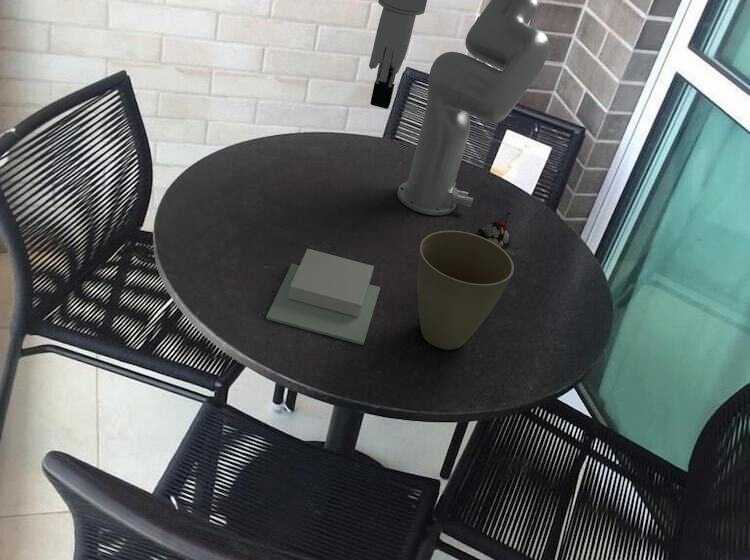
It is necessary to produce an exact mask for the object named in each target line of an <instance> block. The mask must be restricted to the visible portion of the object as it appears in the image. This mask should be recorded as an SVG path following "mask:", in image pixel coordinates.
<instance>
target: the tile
mask: <svg viewBox="0 0 750 560" xmlns="http://www.w3.org/2000/svg"><path fill="white" fill-rule="evenodd" d="M374 268H375V265H372V264H367V263H363V262H359V261H356V260H353V259H349V258H344V257H342V256H338V255H334V254H330V253H326V252H322V251H319V250H314V249H312V248H311V249H310V248H307V249H306V251H305V253H304V254H303V258H302V259H301V262H300V265H299V268H298V270H297V272H296V275H295V277H294V279H293V281H292V283H291V285H290V290H289V295H288V298H289V299H293V300H296V301H300V302H304V303H307V304H311V305H315V306H319V307H322V308H326V309H330V310H333V311H337V312H341V313H345V314H348V315H352V316H356V317H359V315H360V312H361V309H362V305H363V302H364V299H365V296H366V293H367V290H368V287H369V284H370V283H371V280H372V276H373V272H374ZM370 285H371V284H370Z"/></svg>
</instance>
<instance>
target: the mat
mask: <svg viewBox="0 0 750 560" xmlns="http://www.w3.org/2000/svg"><path fill="white" fill-rule="evenodd" d="M299 266H300V265H298V264H295V263H291V264H290V267H289V269H288V271H287V273H286V275H285V277H284V279H283V281H282V283H281V284H280V287H279V289H278V291H277V294H276V296H275V297H274V299H273V302H272V304H271V306H270V308H269V310H268V312H267V314H266V316H265V319H266V320H268V321H272V322H276V323H280V324H283V325H287V326H290V327H295V328H298V329H302V330H306V331H309V332H312V333H316V334H321V335H324V336H329V337H331V338H334V339H335V338H336V339H339V340H343V341H346V342H349V343H354V344H357V345H361V346H364V345H365V340H366V337H367V335H368V331H369V329H370V328H369V327H370V323H371V321H372V317H373V315H374V311H375V307H376V304H377V300H378V297H379V294H380V290H381V286H377V285H374V284H369V287H368V290H367V293H366V296H365V299H364V302H363V305H362V309H361V312H360V315H359V317H356V316H352V315H348V314H345V313H341V312H337V311H333V310H330V309H326V308H322V307H319V306H315V305H311V304H307V303H304V302H300V301H296V300H293V299H289V298H288V295H289V290H290V285H291V283H292V281H293V279H294V277H295V275H296V272H297V270H298V268H299Z"/></svg>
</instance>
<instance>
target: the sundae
mask: <svg viewBox="0 0 750 560" xmlns="http://www.w3.org/2000/svg"><path fill="white" fill-rule="evenodd" d="M510 215H511V212H506V215H505V216H504V217H502V219H495V220H494V221H493V222H489V223H488V224H486V225H485V227H482V228H481V227H478V228H477V230H476V231H475V233H474V234H475V235H478V236H481V237H483V238H485V239H488V240H490V241H491V242H493V243H495V244H496V245H498V246H499V247H501V248H502V249H503V250H504V251H506V250H507V249H509V247H511V246H512V244H513V242H512V240H511V239H510V236H509V232H508V231H507V229H508V225H507V222H508V221H507V220H508V217H509V216H510ZM504 219H505V223H502V221H503V220H504Z"/></svg>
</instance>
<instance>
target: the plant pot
mask: <svg viewBox="0 0 750 560" xmlns="http://www.w3.org/2000/svg"><path fill="white" fill-rule="evenodd" d="M514 266H515V265H514V262H513V260H512V258H511V257H510V255H509V254H508V253H507V252H506V250H503V249H502V248H501V247H499V246H498V245H496V244H495V243H493V242H491V241H490V240H488V239H485V238H483V237H481V236H478V235H475V233H470V232H466V231H459V230H439V231H436V232H433V233H430V234H428V235H427V236H425V237H424V238H423V239H422V240H421V242H420V244H419V251H418V263H417V275H416V276H417V280H416V287H417V290H416V291H417V294H416V295H417V296H416V297H417V311H418V317H419V324H420V331H421V335H422V337H423V338H424V340H425V341H426V342H427V343H429V345H432V346H433V347H436V348H439V349H443V350H455V349H459V348H461V347H463V345H464V344H466V342H467V341H468V340H470V338H471V337H472V336H473V335H474V333H475V332H476V331H477V330H478V329H479V327H480V326H481V325H482V324H483V323H484V321H485V320H486V318H487V317H488V315H489V314H490V313H491V312H492V310H493V308H494V307H495V306H496V305H497V303H498V301H499V299H500V298H501V296H502V294H503V292H504V291H505V289H506V287H507V285H508V283H509V282H510V280H511V278H512V277H513V274H514V270H515V267H514Z"/></svg>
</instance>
